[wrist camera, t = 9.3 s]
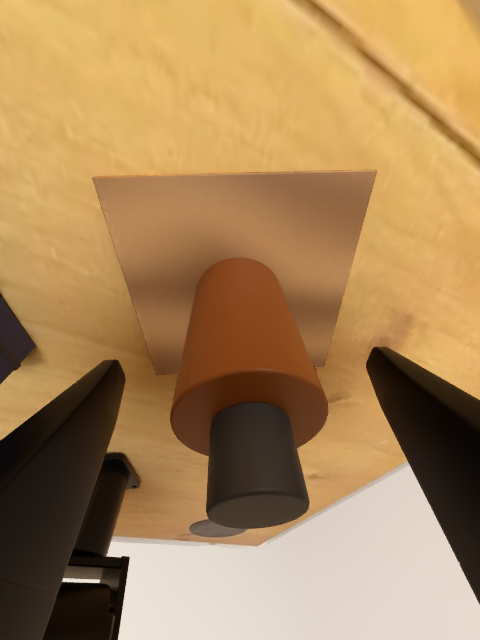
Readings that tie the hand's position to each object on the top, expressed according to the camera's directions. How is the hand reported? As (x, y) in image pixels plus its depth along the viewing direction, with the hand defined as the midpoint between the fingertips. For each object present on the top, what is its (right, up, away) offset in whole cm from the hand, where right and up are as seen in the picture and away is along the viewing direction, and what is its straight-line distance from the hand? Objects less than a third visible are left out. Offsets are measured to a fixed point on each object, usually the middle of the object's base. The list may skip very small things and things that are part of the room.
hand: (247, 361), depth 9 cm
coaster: (0, +3, +4) cm, 5 cm away
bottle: (0, +3, +4) cm, 5 cm away
